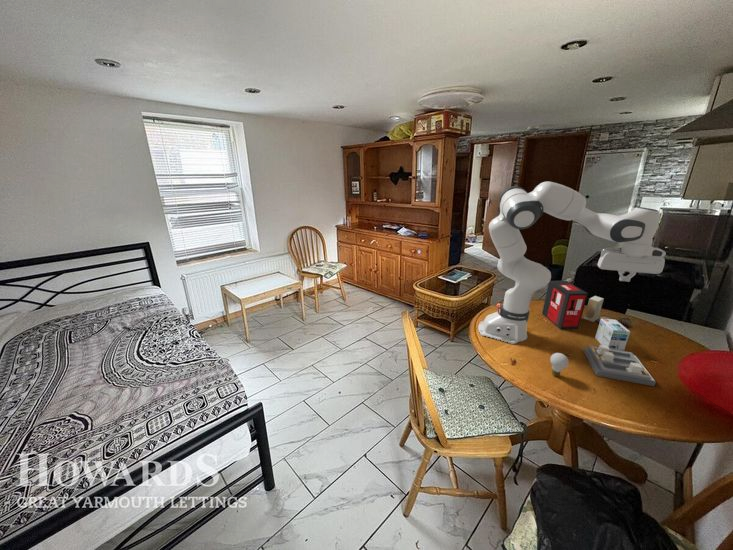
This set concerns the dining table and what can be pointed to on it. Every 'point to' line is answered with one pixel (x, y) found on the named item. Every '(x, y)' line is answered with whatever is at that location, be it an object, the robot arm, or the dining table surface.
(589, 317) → the skincare box
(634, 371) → the tab front
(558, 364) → the light bulb
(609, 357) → the tab middle
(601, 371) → the switch bank
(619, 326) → the light bulb box
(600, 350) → the tab rear
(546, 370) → the dining table surface
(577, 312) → the cleaning product box
